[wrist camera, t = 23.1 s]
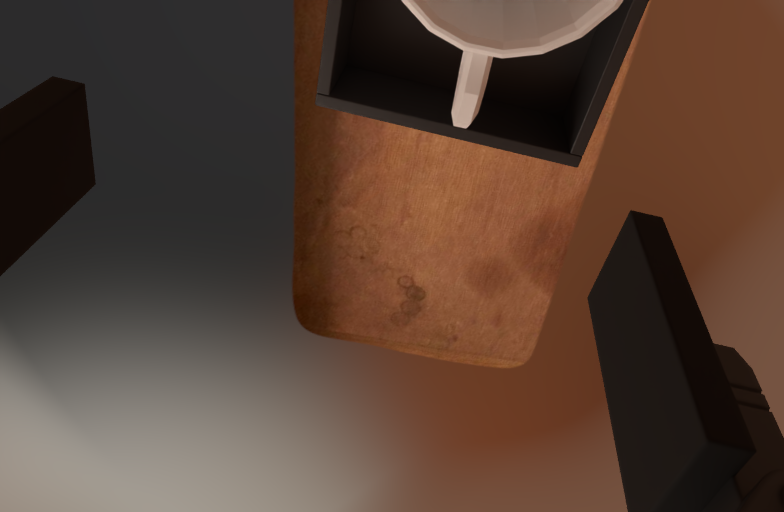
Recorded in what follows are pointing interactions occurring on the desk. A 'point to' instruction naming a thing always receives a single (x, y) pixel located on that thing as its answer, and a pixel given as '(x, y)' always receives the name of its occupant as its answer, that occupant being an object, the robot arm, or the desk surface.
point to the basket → (440, 74)
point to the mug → (503, 35)
